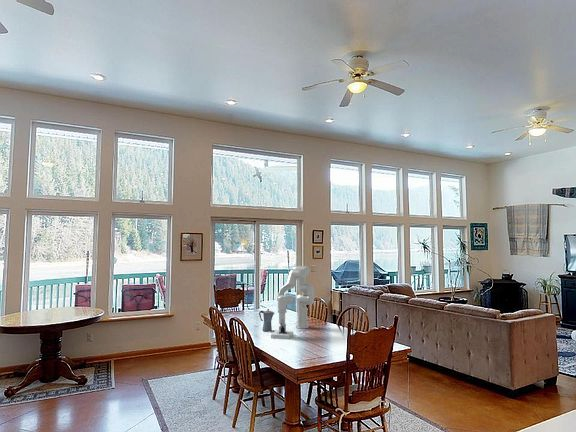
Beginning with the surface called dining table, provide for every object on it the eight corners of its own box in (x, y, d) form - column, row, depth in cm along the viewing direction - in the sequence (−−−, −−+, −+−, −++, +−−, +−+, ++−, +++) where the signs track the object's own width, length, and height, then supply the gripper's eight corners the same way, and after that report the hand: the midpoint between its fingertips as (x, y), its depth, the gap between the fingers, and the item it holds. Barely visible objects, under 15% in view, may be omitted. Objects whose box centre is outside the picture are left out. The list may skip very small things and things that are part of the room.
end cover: (278, 334, 336) (278, 321, 337) (285, 334, 336) (285, 321, 337) (279, 336, 330) (279, 323, 331) (286, 336, 330) (286, 323, 331)
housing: (276, 333, 343) (276, 330, 343) (293, 334, 339) (293, 331, 339) (271, 338, 327) (270, 334, 327) (288, 339, 323) (288, 335, 323)
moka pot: (273, 332, 349) (273, 310, 350) (257, 331, 352) (257, 309, 353) (275, 329, 358) (275, 308, 360) (260, 329, 361) (260, 307, 363)
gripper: (277, 309, 343) (277, 329, 342) (278, 312, 326) (278, 334, 324) (285, 308, 343) (285, 329, 342) (287, 312, 326) (287, 333, 325)
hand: (282, 331), depth 333 cm, fingers closed on end cover, 6 cm apart
